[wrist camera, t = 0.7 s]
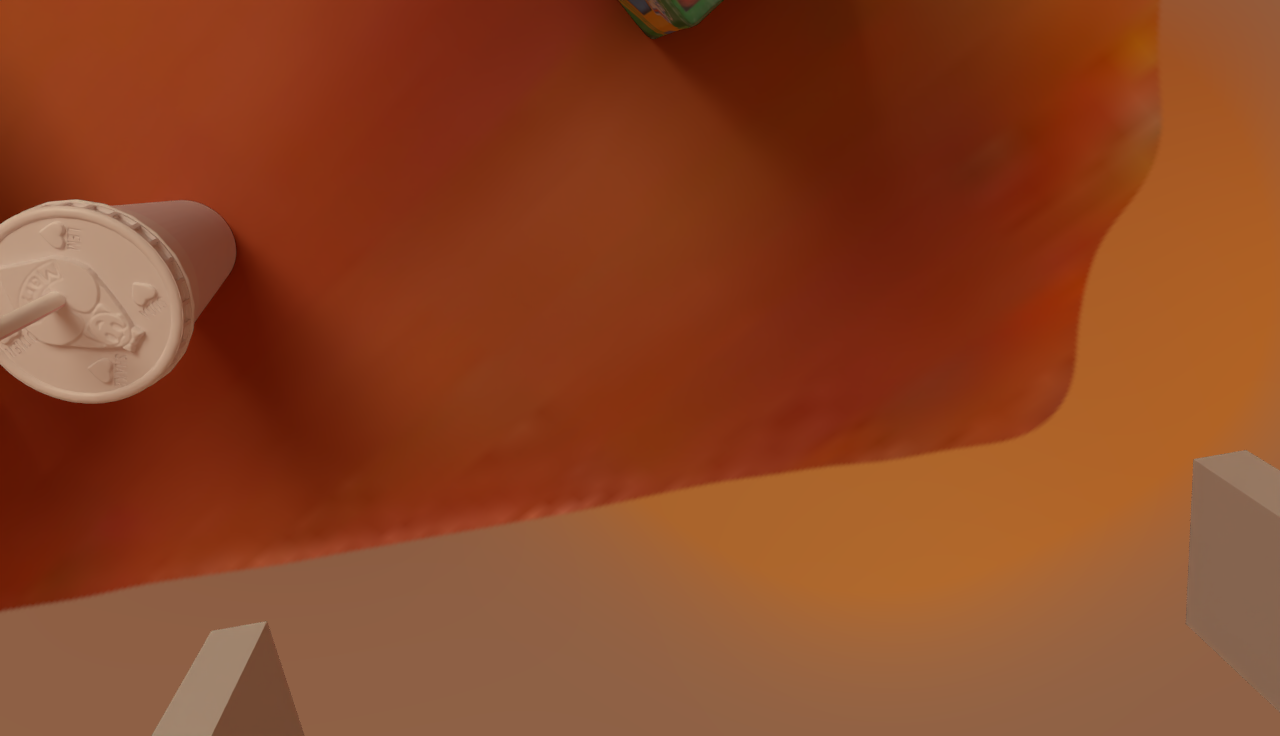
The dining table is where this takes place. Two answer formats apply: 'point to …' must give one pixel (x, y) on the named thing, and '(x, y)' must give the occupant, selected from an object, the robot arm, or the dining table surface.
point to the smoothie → (106, 293)
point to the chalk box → (667, 14)
